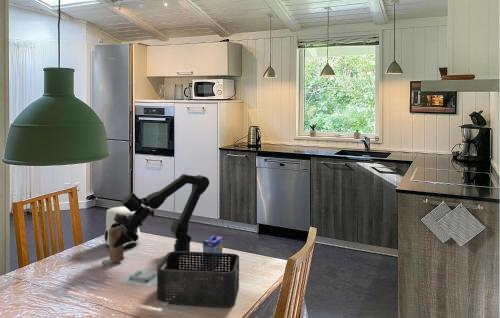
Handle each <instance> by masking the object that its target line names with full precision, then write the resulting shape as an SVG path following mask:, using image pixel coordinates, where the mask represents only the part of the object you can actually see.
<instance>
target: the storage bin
mask: <svg viewBox="0 0 500 318" xmlns="http://www.w3.org/2000/svg"><path fill="white" fill-rule="evenodd" d="M212 257H213V258H212ZM215 257H217V258H215ZM218 257H220V258H218ZM203 259H204V260H203ZM205 259H207V260H205ZM209 259H210V260H209ZM212 259H213V260H212ZM203 261H204V262H203ZM212 262H213V263H212ZM215 262H217V263H215ZM218 262H220V263H218ZM202 264H204V265H202ZM205 264H207V265H205ZM209 264H210V265H209ZM212 264H213V265H212ZM215 264H216V265H215ZM163 266H164V267H163ZM162 267H163V268H162ZM156 272H157V282H156V284H157V285H156V291H157V294H156V295H157V296H156V297H157V300H158V301H159V302H163V303H166V304H167V305H175V306H187V307H188V306H189V307H190V306H192V307H207V306H211V308H230V307H232V306H234V305H235V304H236V300H237V298H238V293H239V290H240V255H238V254H237V253H229V252H222V253H208V252H203V251H190V252H185V251H169V252H168V253H166V255H164V257H163V259H162V260H161V261H160V262H159V263H158V265H157V266H156Z"/></svg>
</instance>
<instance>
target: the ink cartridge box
mask: <svg viewBox="0 0 500 318" xmlns="http://www.w3.org/2000/svg"><path fill="white" fill-rule="evenodd" d="M202 242H203V243H202V252H208V253H223V248H224V247H223V244H224V237H223V236H219V233H216V234H214V235H211V236H210V237H209V238H207V239H205V240H203V241H202ZM212 258H213V257H212ZM215 258H217V257H215ZM218 258H220V257H218ZM202 260H204V259H202ZM205 260H207V259H205ZM209 260H210V259H209ZM212 260H213V259H212ZM202 262H204V261H202ZM212 263H213V262H212ZM215 263H217V262H215ZM218 263H220V262H218ZM202 265H204V264H202ZM205 265H207V264H205ZM209 265H210V264H209ZM212 265H213V264H212ZM215 265H216V264H215Z"/></svg>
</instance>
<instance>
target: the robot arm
mask: <svg viewBox="0 0 500 318" xmlns="http://www.w3.org/2000/svg"><path fill="white" fill-rule="evenodd" d="M187 184H188V185H191V191H190V195H189V197H188V199H187V201H186V203H185V206H184V208H183V210H182V212H181V213H180V214H181V215H180V216H179V218H178V220H173V221H172V225H171V226H170V228H169V229H170V233H171V235H172V236H173V237H174V239H175V240H174V241H175V243H174V244H173V245H174V249H173V250H174V251H185V252H191V250H190V249H191V248H190V247H191V245H190V244H191V241H192V237H191V236H190V235H189V234H188V231H189V223H190V220H191V218H192V216H193V213H194V212H195V209H196V206H197V204H198V202H199V200H200V198H201V196H202V195H203V194H204V192H206V191H207V188H208V187H209V185H210V179H208V177H207V176H204V175H202V174H201V175H200V174H197V175H190V174H185V173H182V174H181V175H180V176H178V178H176V179H175V180H174V181H172V182H171V183H169V184H168V185H166V186H165V187H164V188H162V189H160V190H157V191H155V192H153V193H152V192H151V194H148V195H147V196H146V197H142V198H139V197H138V196H137V195H136V194H135V193H134V192H131V193H129V194H128V195H127V196H125V197H124V198H122V201H121V205H122V206H123V207H126V208H127V209H128V210H129V211H131V212H133V211H134V212H135V211H136V212H135V213H134V214H133V215H129V216H128V217H127V216H126V215H121V214H118V213H116V215H115V217H114V220H115V222H116V224H117V225H119V226H117V227H121V228H122V229H123V232H122V231H121V236H120V238H119V239H118V241H117V242H116V243H115V245H114V247H115V248H116V247H118V246H121V245H123V244H125V243H127V242H130V241H135V242H136V241H137V239H138V235H137V234H136V231H135V230H136V229H137V228H138V227H139V228H140V227H142V226H143V223H144V221H145V220H147V218H148V217H149V216H150V217H152V218H154V217H155V210H157V209H159V208H160V207H161V206H162V205H163V204H164V203H165V201H166V200H167V198H169V197H170V196H172V195H173V194H174V193H175V192H177V191H179V190H180V189H181V188H183V187H185V185H187Z"/></svg>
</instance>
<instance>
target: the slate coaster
mask: <svg viewBox="0 0 500 318" xmlns="http://www.w3.org/2000/svg"><path fill="white" fill-rule="evenodd" d="M125 258H126V256H124V259H125ZM118 262H119V261H117V262H112V261H111V260H110V258H107V259H103V260H102V264H104V267H105V268H106V269H108V268H109V267H111V266H113V265H115V264H116V263H118Z"/></svg>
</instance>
